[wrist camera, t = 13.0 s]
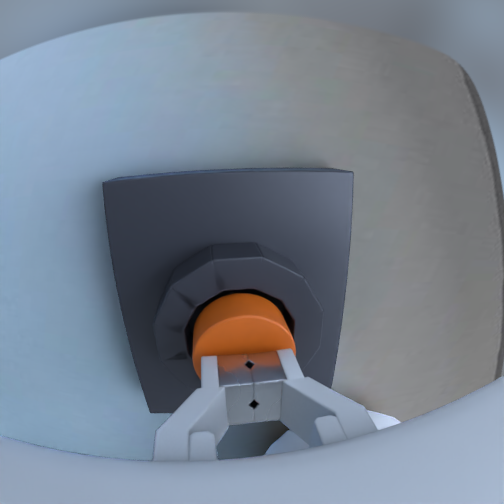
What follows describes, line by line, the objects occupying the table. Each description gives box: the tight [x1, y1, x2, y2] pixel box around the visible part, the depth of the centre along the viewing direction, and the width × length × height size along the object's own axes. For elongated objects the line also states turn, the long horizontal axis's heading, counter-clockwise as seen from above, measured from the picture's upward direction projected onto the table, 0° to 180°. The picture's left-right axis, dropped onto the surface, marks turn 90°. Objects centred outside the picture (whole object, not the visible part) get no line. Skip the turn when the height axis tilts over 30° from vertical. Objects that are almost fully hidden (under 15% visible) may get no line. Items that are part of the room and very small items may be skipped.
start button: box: [192, 293, 296, 379], centre depth 11 cm, size 4×4×2 cm
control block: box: [102, 168, 354, 413], centre depth 13 cm, size 12×10×4 cm
